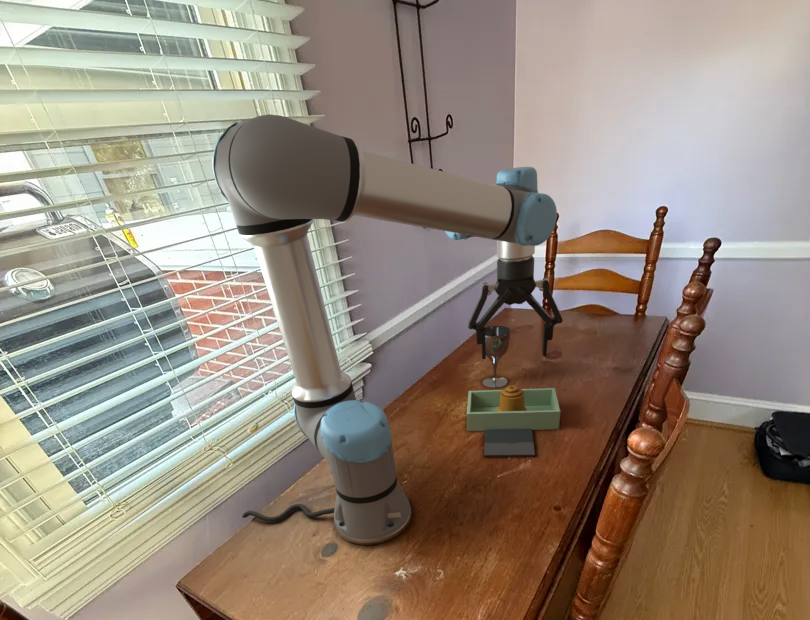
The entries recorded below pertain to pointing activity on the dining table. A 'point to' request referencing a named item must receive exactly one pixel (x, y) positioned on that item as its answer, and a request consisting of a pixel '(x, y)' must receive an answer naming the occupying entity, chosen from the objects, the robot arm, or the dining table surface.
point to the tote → (537, 417)
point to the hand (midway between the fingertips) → (513, 355)
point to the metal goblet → (496, 352)
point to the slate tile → (509, 443)
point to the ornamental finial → (511, 399)
